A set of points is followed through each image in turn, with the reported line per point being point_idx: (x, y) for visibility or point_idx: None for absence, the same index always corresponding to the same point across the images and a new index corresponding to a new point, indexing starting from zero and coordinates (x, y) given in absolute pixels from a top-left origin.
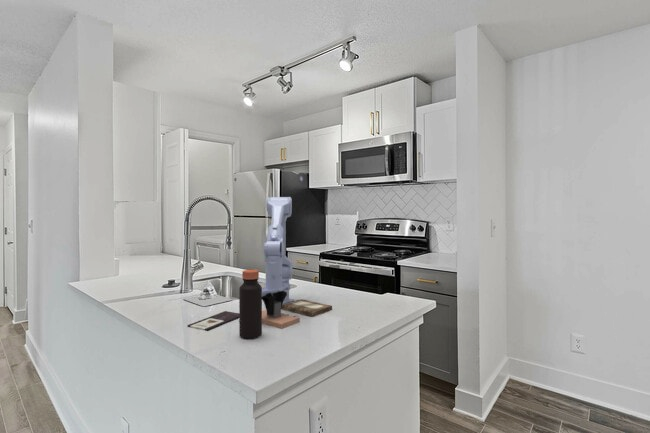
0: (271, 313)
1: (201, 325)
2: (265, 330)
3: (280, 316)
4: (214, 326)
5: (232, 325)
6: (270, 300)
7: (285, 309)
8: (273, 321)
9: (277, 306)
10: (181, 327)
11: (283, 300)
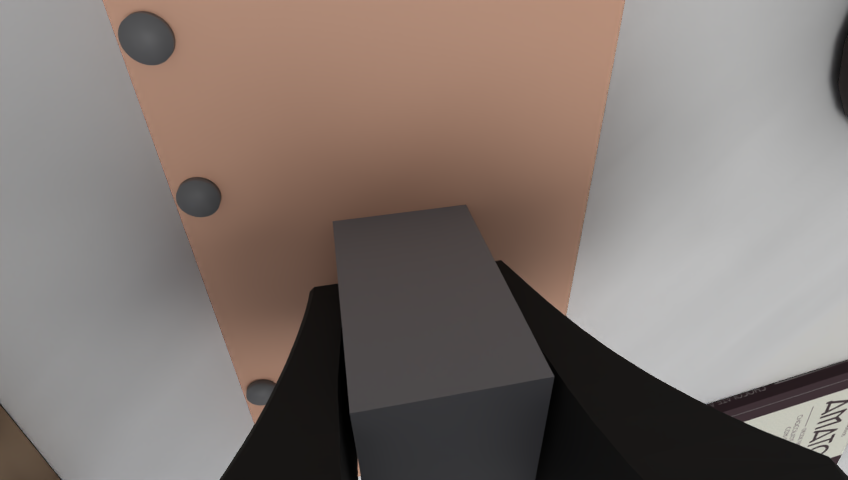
0: (518, 276)
1: (822, 433)
2: (748, 20)
3: (345, 219)
4: (821, 383)
5: (719, 353)
6: (777, 439)
7: (25, 453)
8: (590, 104)
9: (449, 334)
10: (845, 462)
11: (251, 453)
